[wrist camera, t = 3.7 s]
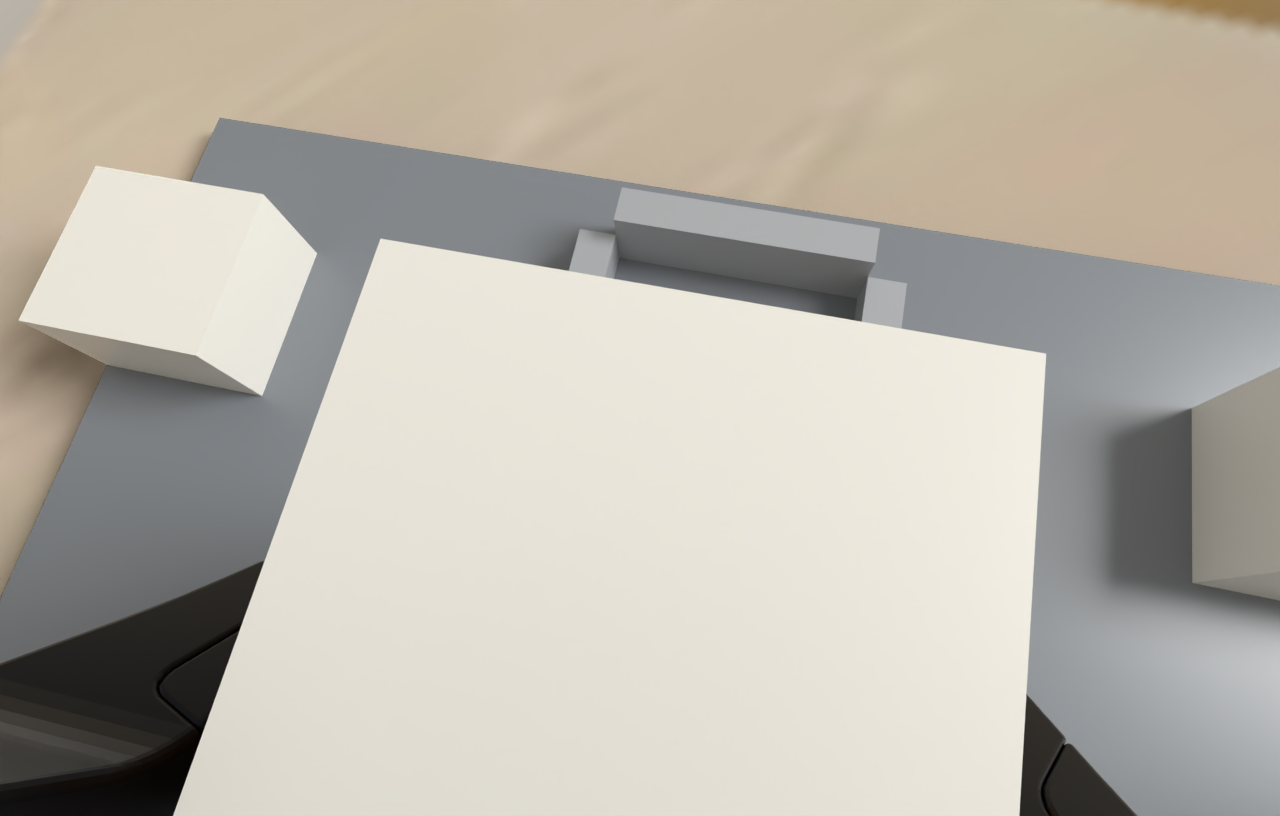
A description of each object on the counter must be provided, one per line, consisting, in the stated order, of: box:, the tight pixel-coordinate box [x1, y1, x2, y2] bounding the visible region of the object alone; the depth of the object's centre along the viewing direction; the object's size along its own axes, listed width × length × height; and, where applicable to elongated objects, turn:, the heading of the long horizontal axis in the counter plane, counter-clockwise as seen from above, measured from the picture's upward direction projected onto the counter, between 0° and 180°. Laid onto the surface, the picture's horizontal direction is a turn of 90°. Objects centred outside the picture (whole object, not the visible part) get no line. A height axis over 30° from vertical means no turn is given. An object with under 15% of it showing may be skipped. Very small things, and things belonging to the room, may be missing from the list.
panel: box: [0, 118, 1280, 816], centre depth 14 cm, size 20×27×3 cm
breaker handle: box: [173, 239, 1046, 816], centre depth 9 cm, size 4×4×11 cm
